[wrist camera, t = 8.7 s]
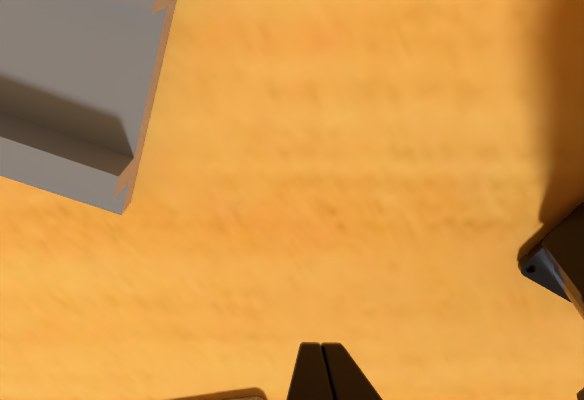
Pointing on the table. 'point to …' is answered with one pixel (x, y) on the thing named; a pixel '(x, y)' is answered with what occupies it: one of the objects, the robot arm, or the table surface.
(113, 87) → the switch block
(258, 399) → the puzzle board
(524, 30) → the table surface
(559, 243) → the robot arm
